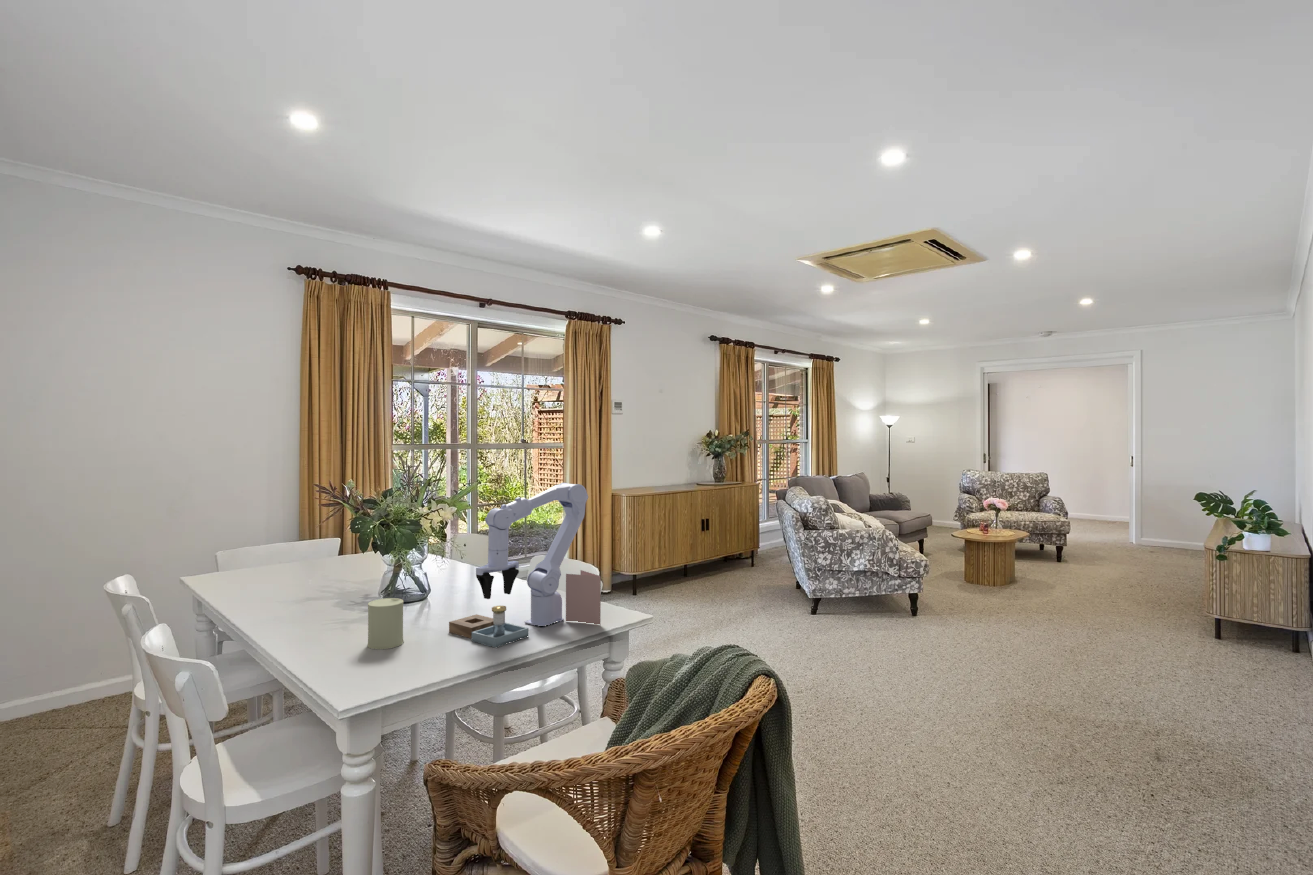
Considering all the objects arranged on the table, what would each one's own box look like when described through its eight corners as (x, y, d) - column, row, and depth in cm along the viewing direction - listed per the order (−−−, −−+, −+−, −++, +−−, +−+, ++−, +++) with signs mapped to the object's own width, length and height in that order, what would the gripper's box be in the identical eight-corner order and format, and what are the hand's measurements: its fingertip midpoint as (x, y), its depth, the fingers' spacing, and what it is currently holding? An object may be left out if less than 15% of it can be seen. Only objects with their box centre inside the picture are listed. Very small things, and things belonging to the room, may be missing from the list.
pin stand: (476, 624, 198) (476, 614, 198) (498, 629, 192) (498, 619, 192) (449, 632, 190) (449, 621, 190) (471, 638, 184) (471, 627, 184)
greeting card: (602, 625, 198) (603, 575, 198) (581, 629, 193) (582, 578, 193) (582, 616, 206) (582, 569, 206) (562, 620, 202) (562, 572, 202)
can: (410, 642, 180) (411, 598, 180) (381, 651, 172) (382, 606, 172) (389, 636, 185) (389, 594, 185) (359, 645, 177) (360, 601, 177)
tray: (504, 630, 191) (504, 622, 191) (528, 636, 186) (528, 628, 186) (471, 640, 182) (471, 632, 182) (495, 647, 176) (495, 638, 176)
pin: (499, 632, 187) (499, 604, 187) (509, 635, 184) (509, 606, 184) (488, 636, 183) (488, 607, 183) (498, 638, 181) (498, 610, 181)
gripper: (507, 545, 199) (507, 589, 199) (469, 551, 187) (468, 598, 187) (524, 547, 195) (523, 593, 195) (485, 553, 183) (484, 602, 183)
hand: (497, 596), depth 190 cm, fingers open, 7 cm apart
